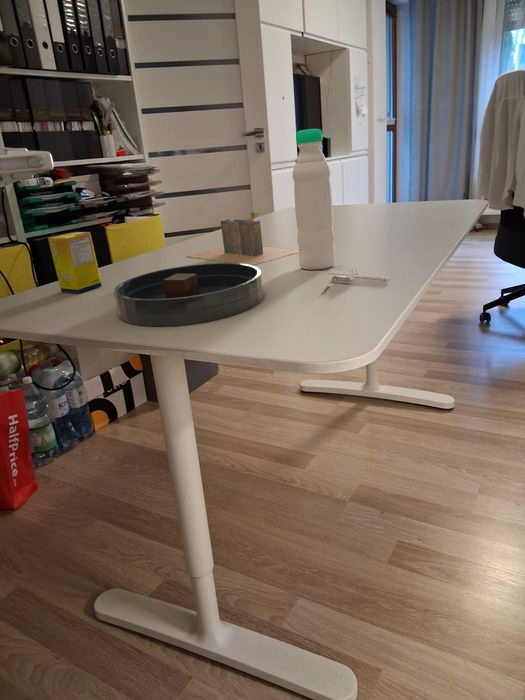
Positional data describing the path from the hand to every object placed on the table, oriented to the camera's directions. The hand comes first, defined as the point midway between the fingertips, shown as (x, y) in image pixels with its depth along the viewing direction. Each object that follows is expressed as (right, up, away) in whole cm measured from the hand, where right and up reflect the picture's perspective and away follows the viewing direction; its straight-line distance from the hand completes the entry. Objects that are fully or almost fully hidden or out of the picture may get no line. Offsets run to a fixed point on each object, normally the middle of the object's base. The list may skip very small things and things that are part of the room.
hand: (20, 162), depth 104 cm
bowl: (+37, -30, -19) cm, 52 cm away
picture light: (+63, -26, -14) cm, 70 cm away
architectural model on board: (+44, -15, +20) cm, 50 cm away
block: (+35, -29, -18) cm, 49 cm away
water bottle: (+59, -21, -1) cm, 63 cm away
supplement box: (+12, -25, +1) cm, 28 cm away
